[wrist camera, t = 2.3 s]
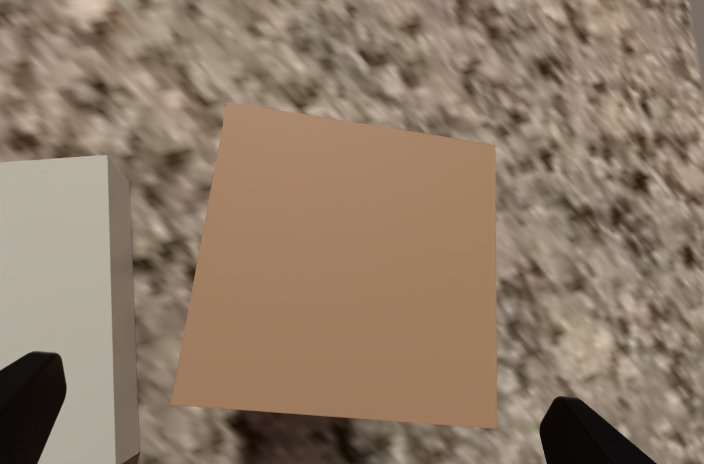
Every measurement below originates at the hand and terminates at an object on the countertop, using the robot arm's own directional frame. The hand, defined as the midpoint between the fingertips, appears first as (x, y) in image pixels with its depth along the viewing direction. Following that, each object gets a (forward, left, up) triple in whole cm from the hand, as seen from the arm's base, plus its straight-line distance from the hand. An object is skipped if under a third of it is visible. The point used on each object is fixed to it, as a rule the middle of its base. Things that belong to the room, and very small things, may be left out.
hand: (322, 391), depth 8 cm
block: (+2, +1, -9) cm, 10 cm away
